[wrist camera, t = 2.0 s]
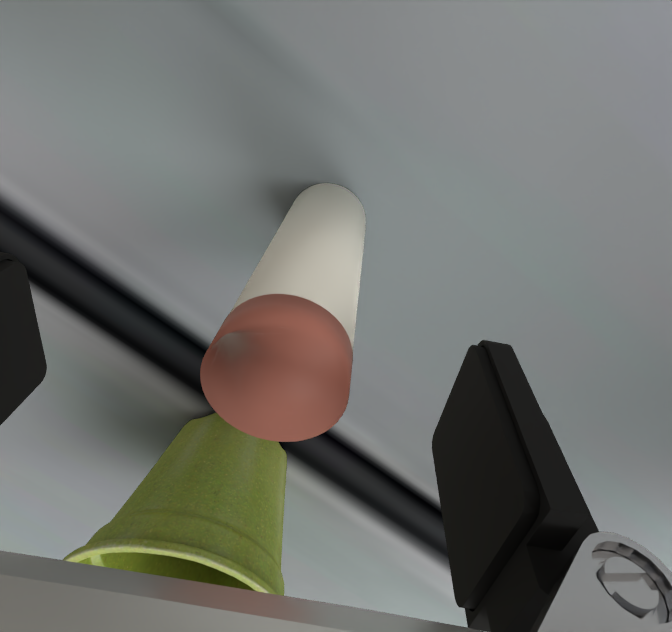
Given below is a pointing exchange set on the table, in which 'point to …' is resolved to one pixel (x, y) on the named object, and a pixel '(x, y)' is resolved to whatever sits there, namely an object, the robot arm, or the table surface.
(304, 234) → the pink-tipped cream rod
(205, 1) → the table surface
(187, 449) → the plant pot
